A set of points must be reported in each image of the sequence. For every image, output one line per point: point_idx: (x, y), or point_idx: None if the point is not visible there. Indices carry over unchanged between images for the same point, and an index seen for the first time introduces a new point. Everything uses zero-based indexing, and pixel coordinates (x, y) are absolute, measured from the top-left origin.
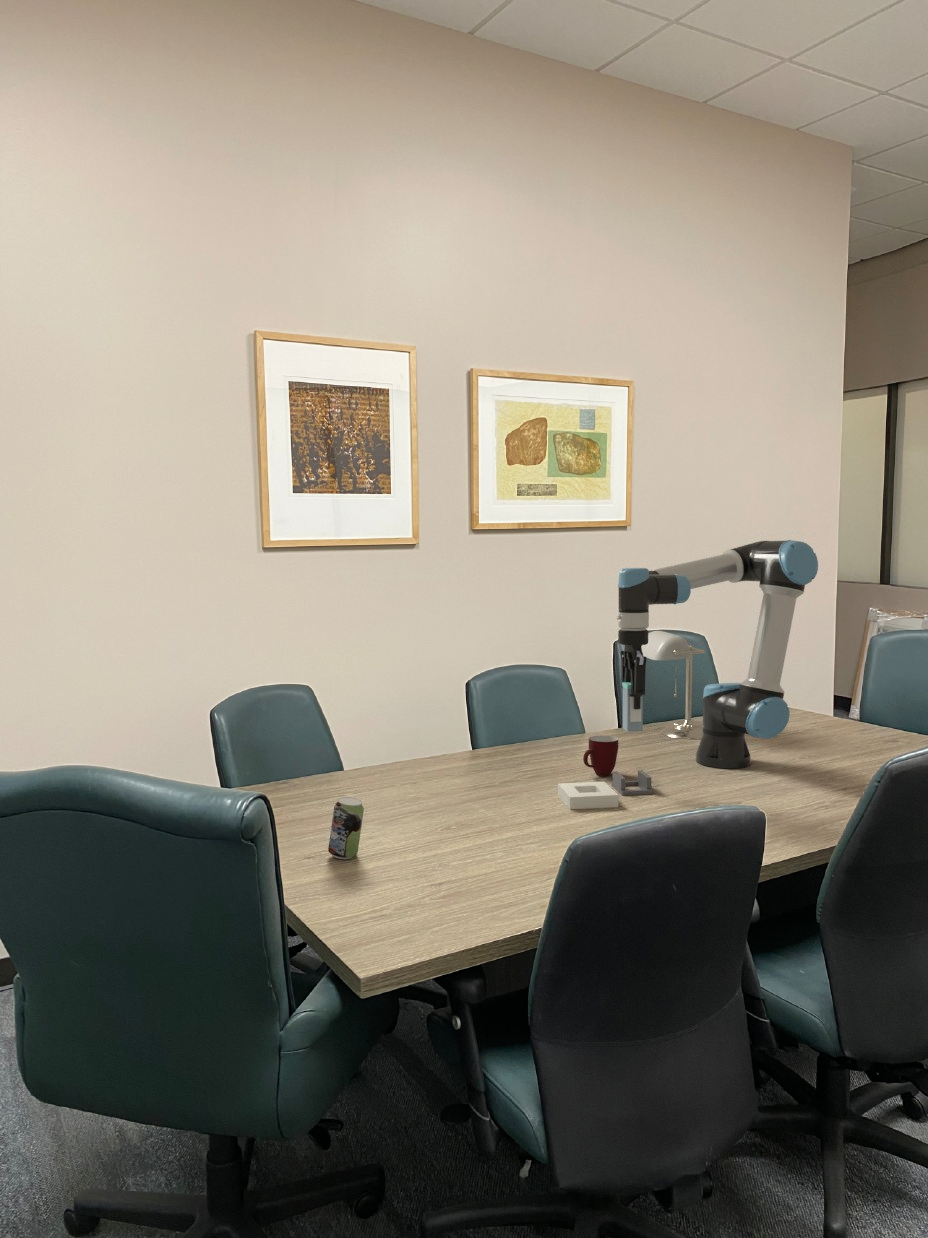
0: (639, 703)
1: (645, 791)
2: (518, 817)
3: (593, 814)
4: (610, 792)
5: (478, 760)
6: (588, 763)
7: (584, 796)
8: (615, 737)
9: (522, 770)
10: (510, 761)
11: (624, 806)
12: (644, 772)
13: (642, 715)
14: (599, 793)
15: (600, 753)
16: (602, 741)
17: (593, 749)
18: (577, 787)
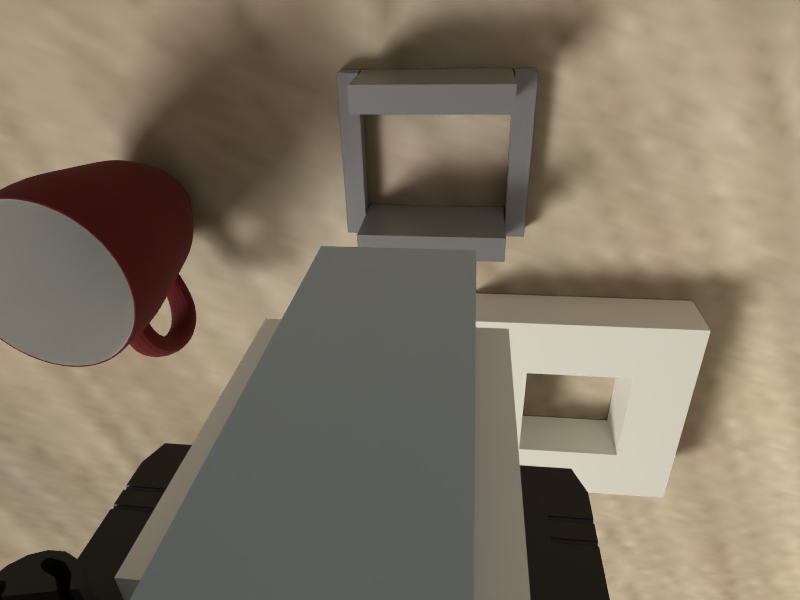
0: (597, 557)
1: (533, 114)
2: (672, 592)
3: (741, 409)
4: (657, 349)
5: (15, 543)
6: (189, 316)
7: (675, 453)
8: None
9: (125, 466)
10: (5, 470)
11: (688, 271)
12: (398, 88)
13: (474, 342)
14: (655, 393)
15: (167, 292)
16: None
17: (142, 330)
18: (519, 432)
